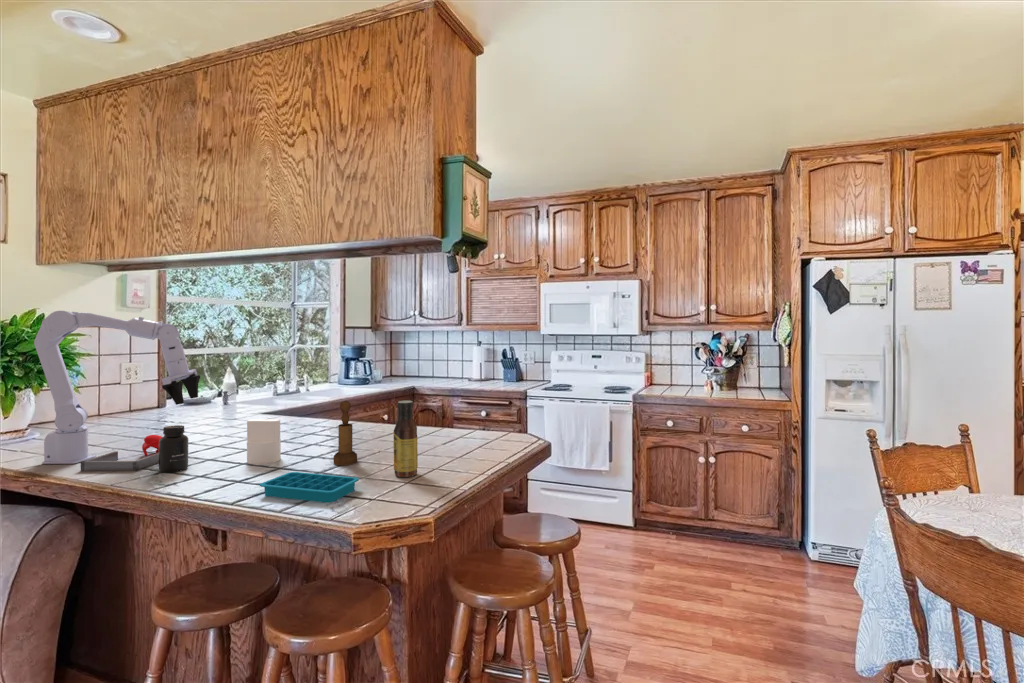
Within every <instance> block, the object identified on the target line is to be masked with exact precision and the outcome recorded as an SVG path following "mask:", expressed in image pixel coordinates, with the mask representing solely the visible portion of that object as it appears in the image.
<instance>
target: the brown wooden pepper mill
mask: <svg viewBox="0 0 1024 683" xmlns="http://www.w3.org/2000/svg"><path fill="white" fill-rule="evenodd" d="M339 408H340V411H341V413H342V416H341V418H340V419H341V422H342V423H340V424H338V448H337V449H338V450H337V452H336V453H335V454H334V455H333V464H334V465H336V466H350V465H354V464H356V463H358V453H357V452H355V451H354V450H353V423H349V422H350V415H349V411H350V410H351V403H350V401H348V400H345V401H341V402H340V404H339Z"/></svg>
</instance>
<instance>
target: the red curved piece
mask: <svg viewBox="0 0 1024 683" xmlns="http://www.w3.org/2000/svg"><path fill="white" fill-rule="evenodd" d="M162 437H163V436H161V435H158V434H148V435H147V436H145V437H144V439H143V441H144V442H143V444H142V445H141V449H142V452H143V454H144V455H143V456H145V457H148V456H149V455H148V452H147V450H148V449H149V448H154V449H155V454H156V453H159V440H160V439H161V438H162Z"/></svg>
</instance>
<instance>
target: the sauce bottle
mask: <svg viewBox="0 0 1024 683" xmlns="http://www.w3.org/2000/svg"><path fill="white" fill-rule="evenodd" d="M413 407H414V402H413V400H400V401H397V408H398V410H397V420H396V423H395V426H394V429H393V470H394V471H393V472H394V475H395V476H396V477H398V478H399V477H400V478H412V477H414V476H415V475H418V474H417V473H418V464H419V463H418V459H419V458H418V457H419V456H418V455H419V454H418V453H419V452H418V426H417V423H416V421H415V420H414V419H413V416H414V415H413Z"/></svg>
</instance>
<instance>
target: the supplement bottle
mask: <svg viewBox="0 0 1024 683" xmlns="http://www.w3.org/2000/svg"><path fill="white" fill-rule="evenodd" d="M185 431H186V430H185V425H182V424H181V425H178V424H177V425H175V424H174V425H166V426H164V427H163V433H162V434H163V436H162V438H161V439H160V440H159V452H158V453H159V462H158V471H159V472H160V473H167V474H168V473H178V472H183V471H185V470H187V469H189V437H188V436H187V434H186V435H185V434H184V433H185Z"/></svg>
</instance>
